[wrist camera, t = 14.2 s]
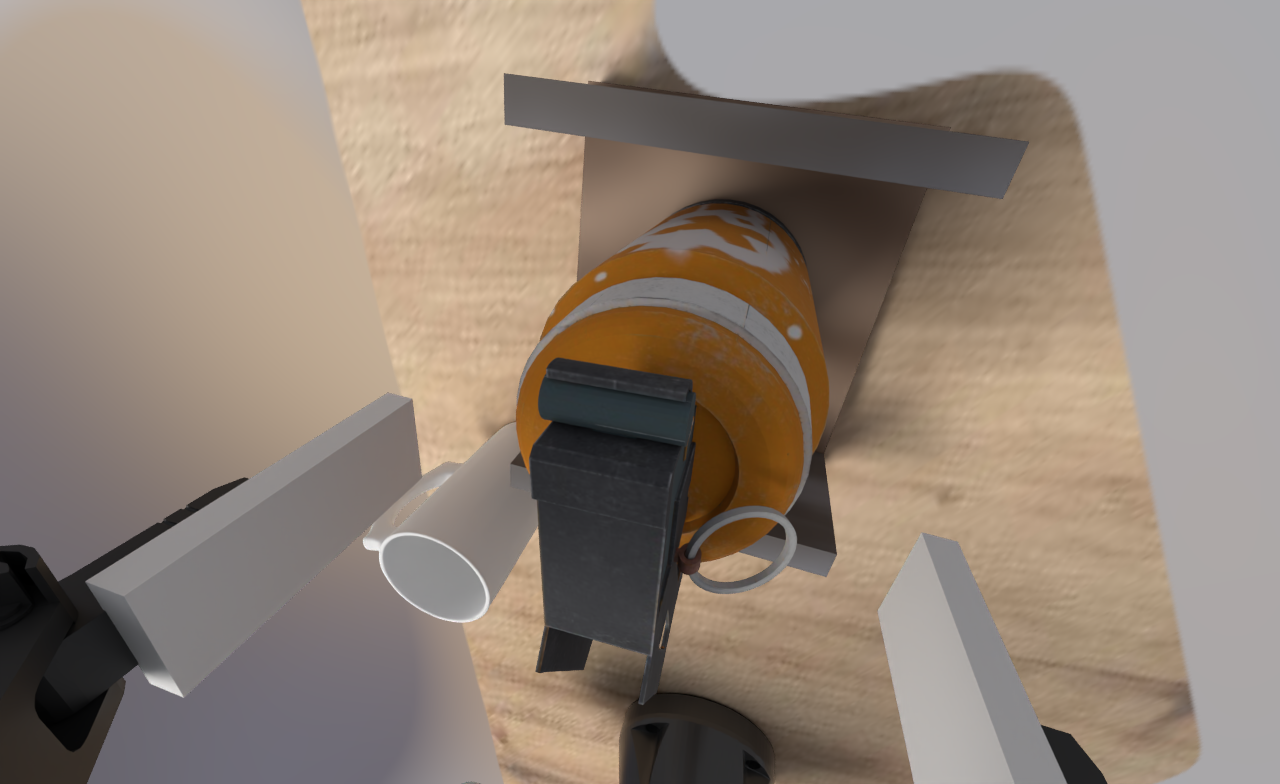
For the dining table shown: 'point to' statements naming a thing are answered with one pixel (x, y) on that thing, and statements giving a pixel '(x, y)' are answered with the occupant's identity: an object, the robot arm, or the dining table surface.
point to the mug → (458, 533)
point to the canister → (668, 424)
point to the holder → (783, 186)
